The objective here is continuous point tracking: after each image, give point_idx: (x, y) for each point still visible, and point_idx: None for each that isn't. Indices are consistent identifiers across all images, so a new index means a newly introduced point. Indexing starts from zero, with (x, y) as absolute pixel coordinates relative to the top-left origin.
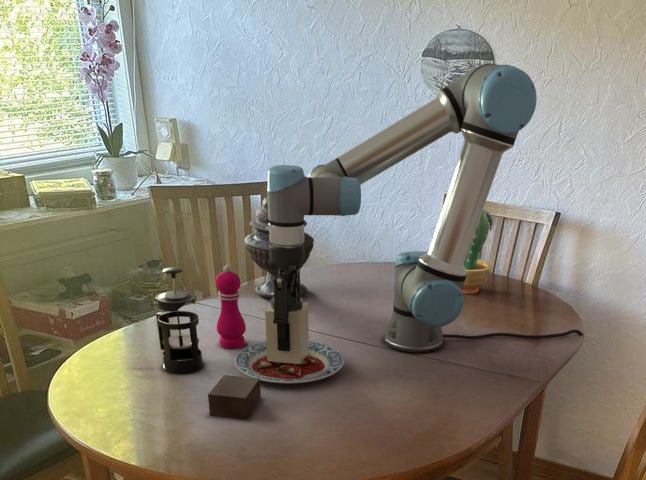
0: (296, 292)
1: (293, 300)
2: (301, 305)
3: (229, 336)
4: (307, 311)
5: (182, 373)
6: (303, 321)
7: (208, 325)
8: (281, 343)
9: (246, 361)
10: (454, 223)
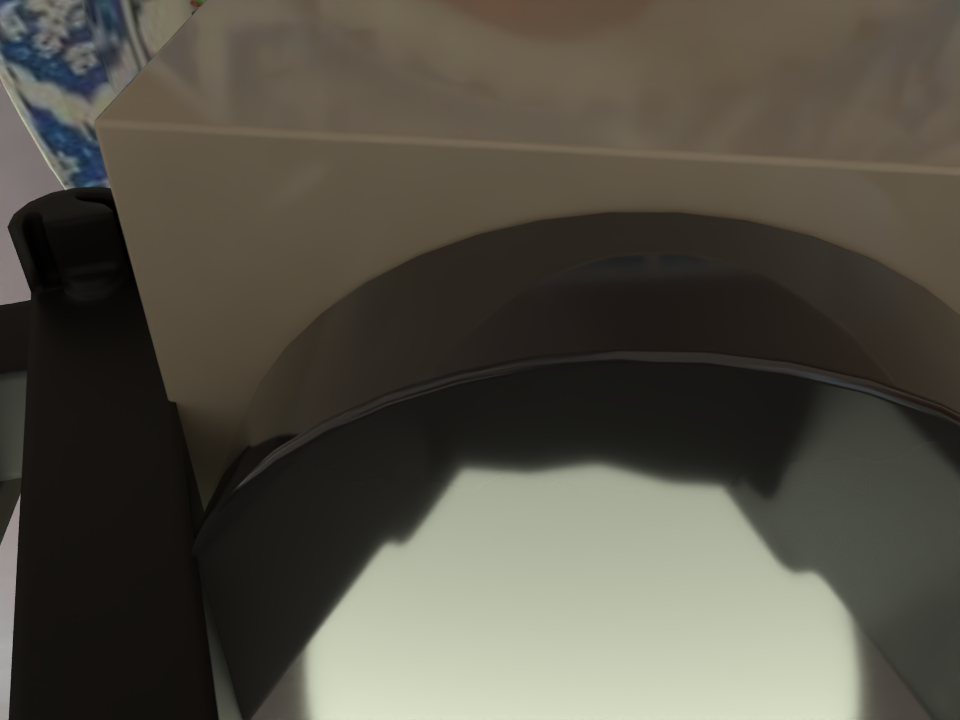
0: (163, 662)
1: (665, 582)
2: (778, 285)
3: None
4: (281, 31)
5: None
6: (741, 11)
7: (2, 644)
8: None
9: None
10: None
